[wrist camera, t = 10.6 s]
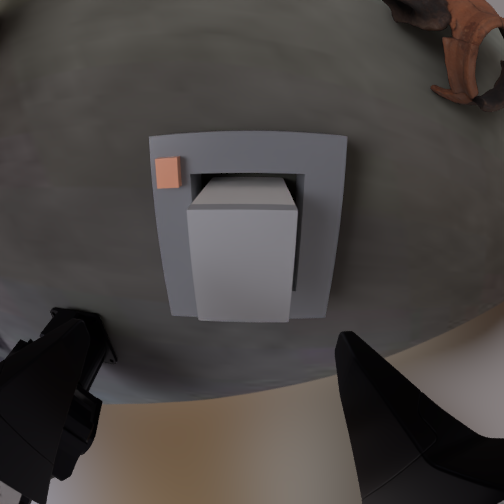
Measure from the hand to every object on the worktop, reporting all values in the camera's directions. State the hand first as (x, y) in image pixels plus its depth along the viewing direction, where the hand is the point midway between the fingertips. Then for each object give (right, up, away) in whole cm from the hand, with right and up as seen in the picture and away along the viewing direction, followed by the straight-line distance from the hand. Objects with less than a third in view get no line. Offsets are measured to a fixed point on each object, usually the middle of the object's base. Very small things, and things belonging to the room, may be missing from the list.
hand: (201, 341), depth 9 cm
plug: (+1, +5, +10) cm, 11 cm away
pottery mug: (+14, +18, +3) cm, 24 cm away
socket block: (+1, +5, +10) cm, 11 cm away
